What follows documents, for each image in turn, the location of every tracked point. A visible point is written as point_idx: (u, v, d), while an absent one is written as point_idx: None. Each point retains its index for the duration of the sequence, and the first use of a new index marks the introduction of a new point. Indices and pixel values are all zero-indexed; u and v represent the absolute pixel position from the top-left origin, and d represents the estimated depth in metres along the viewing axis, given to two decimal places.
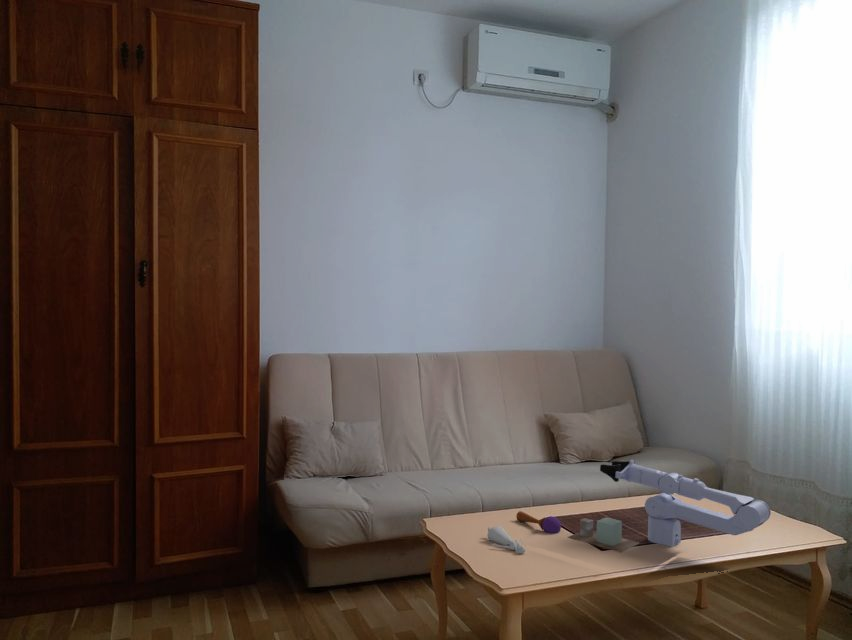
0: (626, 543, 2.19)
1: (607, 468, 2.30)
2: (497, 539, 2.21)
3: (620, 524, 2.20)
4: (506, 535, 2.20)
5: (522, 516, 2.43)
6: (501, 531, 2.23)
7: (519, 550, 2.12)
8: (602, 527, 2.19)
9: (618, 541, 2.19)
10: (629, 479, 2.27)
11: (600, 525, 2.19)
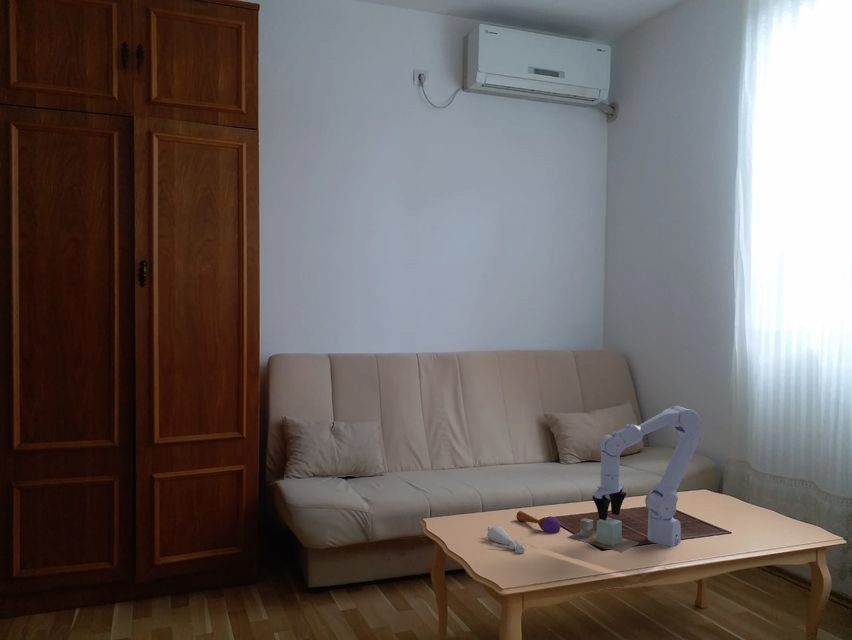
0: (626, 543, 2.19)
1: (600, 510, 2.17)
2: (497, 539, 2.21)
3: (620, 524, 2.20)
4: (506, 535, 2.21)
5: (522, 515, 2.43)
6: (501, 531, 2.23)
7: (519, 549, 2.12)
8: (602, 527, 2.19)
9: (618, 541, 2.19)
10: (611, 488, 2.17)
11: (600, 525, 2.19)
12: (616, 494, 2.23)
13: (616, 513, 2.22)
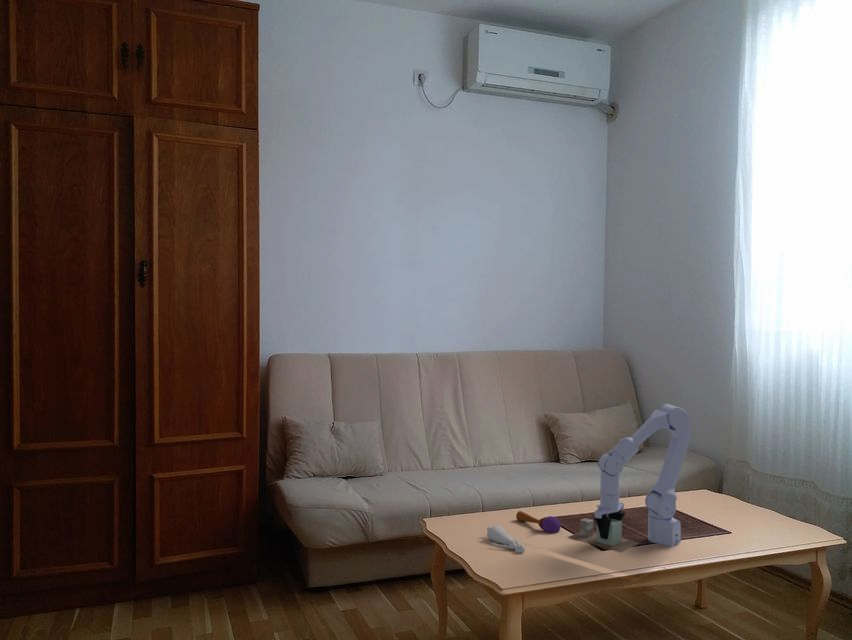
0: (626, 543, 2.19)
1: (601, 529, 2.18)
2: (496, 538, 2.21)
3: (620, 524, 2.20)
4: (505, 534, 2.21)
5: (522, 515, 2.43)
6: (500, 530, 2.23)
7: (519, 549, 2.13)
8: None
9: (618, 541, 2.19)
10: (611, 508, 2.17)
11: None
12: (615, 513, 2.22)
13: None
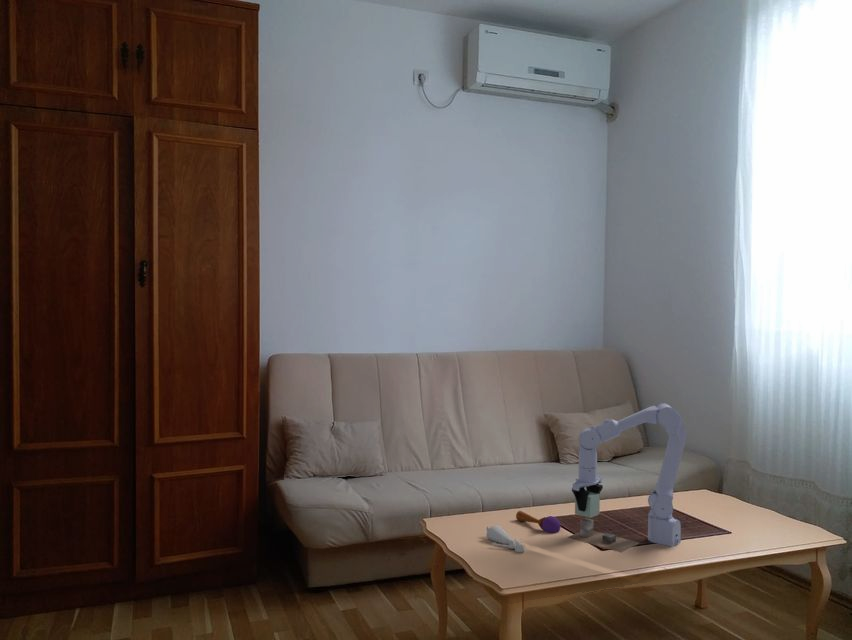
0: (626, 543, 2.19)
1: (579, 502, 2.24)
2: (496, 538, 2.21)
3: (598, 497, 2.25)
4: (505, 534, 2.21)
5: (522, 515, 2.43)
6: (500, 530, 2.23)
7: (518, 549, 2.13)
8: None
9: (596, 513, 2.25)
10: (588, 481, 2.23)
11: None
12: (593, 487, 2.28)
13: None
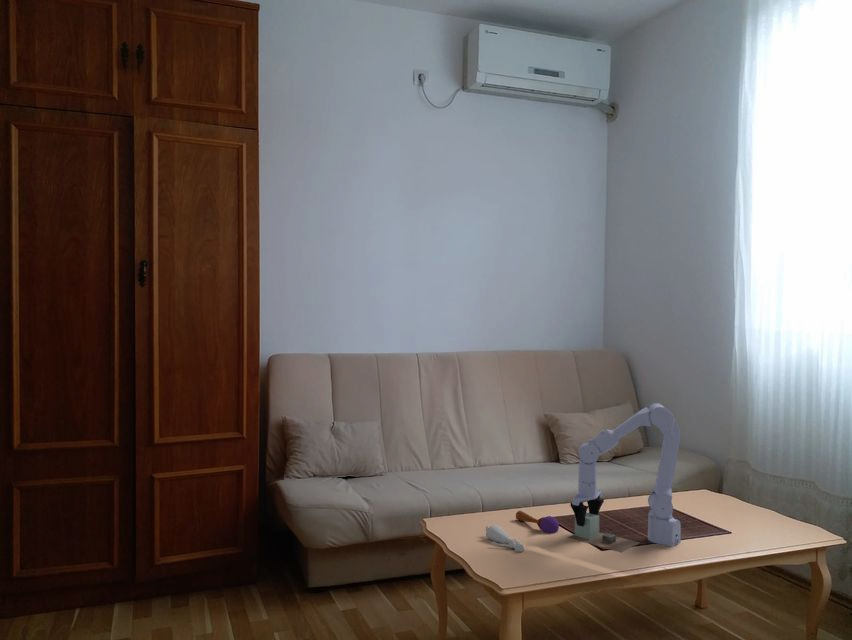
0: (626, 543, 2.19)
1: (578, 517, 2.23)
2: (496, 538, 2.22)
3: (597, 518, 2.25)
4: (504, 534, 2.22)
5: (521, 515, 2.43)
6: (499, 530, 2.24)
7: (518, 548, 2.14)
8: None
9: (595, 535, 2.25)
10: (588, 495, 2.23)
11: None
12: (594, 501, 2.28)
13: None
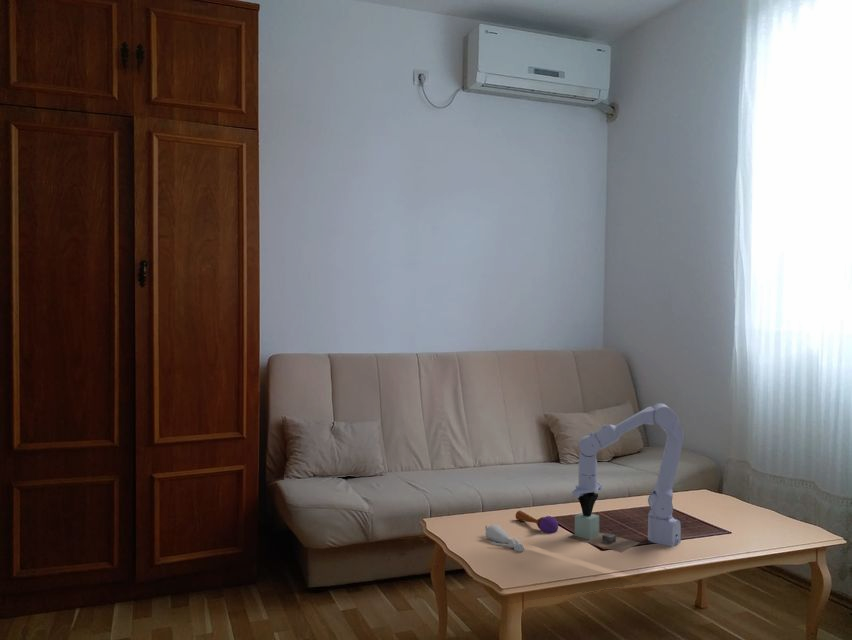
0: (626, 543, 2.19)
1: (584, 507, 2.26)
2: (495, 537, 2.22)
3: (597, 518, 2.25)
4: (504, 533, 2.22)
5: (521, 515, 2.43)
6: (499, 529, 2.24)
7: (518, 548, 2.14)
8: (580, 521, 2.24)
9: (595, 535, 2.25)
10: (588, 488, 2.23)
11: (578, 519, 2.25)
12: None
13: None
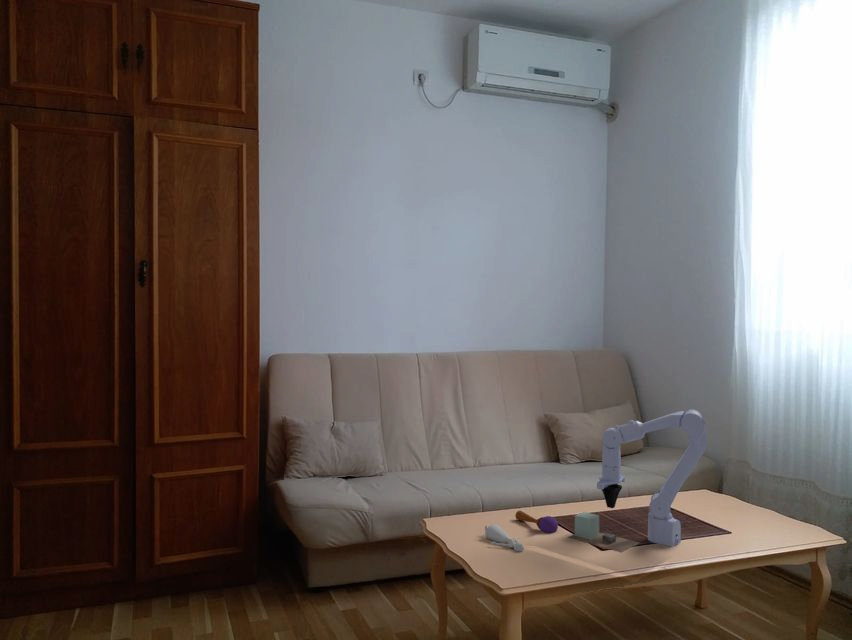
0: (626, 543, 2.19)
1: (608, 499, 2.27)
2: (495, 537, 2.22)
3: (597, 518, 2.25)
4: (504, 533, 2.22)
5: (521, 515, 2.43)
6: (499, 529, 2.24)
7: (518, 547, 2.14)
8: (580, 521, 2.24)
9: (595, 535, 2.25)
10: (612, 479, 2.25)
11: (578, 519, 2.25)
12: None
13: None
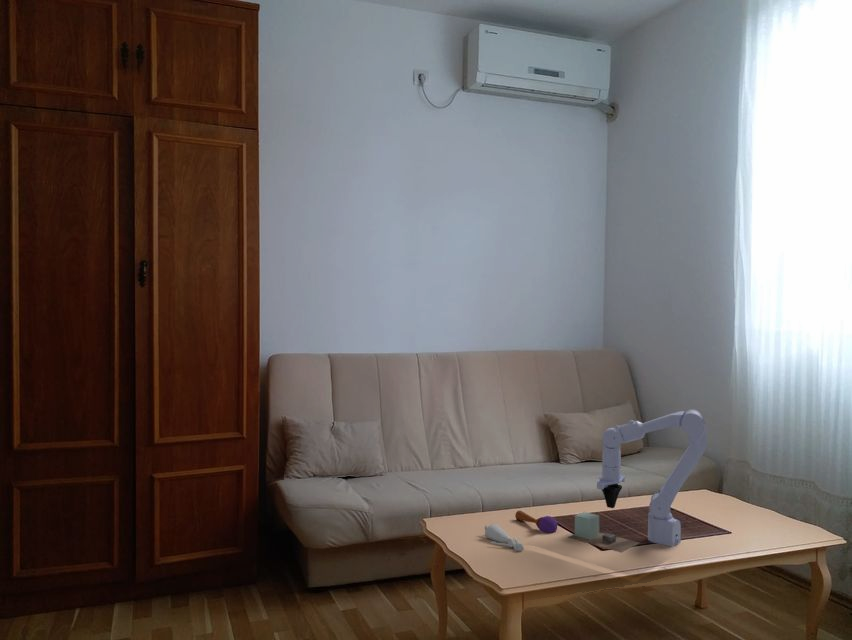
0: (626, 543, 2.19)
1: (608, 499, 2.27)
2: (495, 537, 2.23)
3: (597, 518, 2.25)
4: (504, 533, 2.23)
5: (521, 515, 2.43)
6: (498, 529, 2.25)
7: (518, 547, 2.14)
8: (580, 521, 2.24)
9: (595, 535, 2.25)
10: (612, 479, 2.25)
11: (578, 519, 2.25)
12: None
13: None
